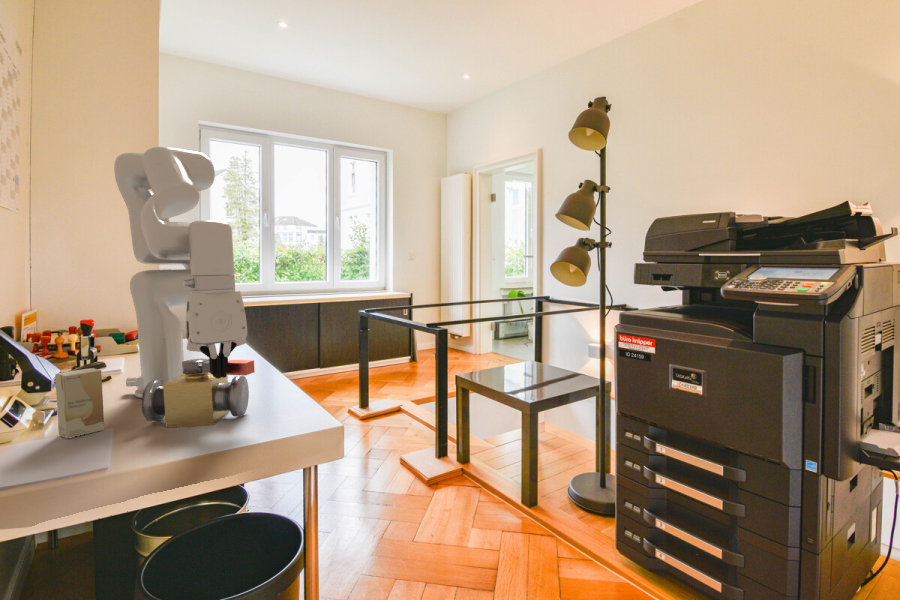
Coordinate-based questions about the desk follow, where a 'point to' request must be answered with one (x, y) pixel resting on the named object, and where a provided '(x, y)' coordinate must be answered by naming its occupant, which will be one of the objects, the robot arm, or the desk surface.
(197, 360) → the lever
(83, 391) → the skincare box
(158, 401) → the valve
